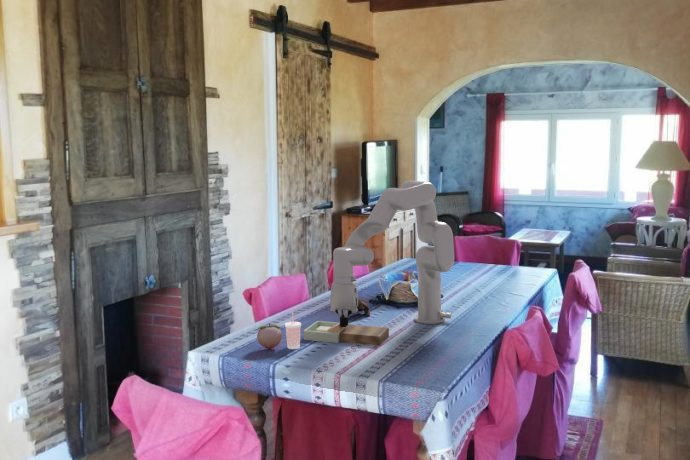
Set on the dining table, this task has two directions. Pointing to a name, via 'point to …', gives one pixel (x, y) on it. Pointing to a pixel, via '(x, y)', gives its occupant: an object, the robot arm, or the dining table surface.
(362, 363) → the dining table surface
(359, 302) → the dark brown domed piece
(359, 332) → the walnut board
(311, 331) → the tray
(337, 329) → the tile terracotta
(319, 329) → the tile cream
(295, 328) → the beverage cup
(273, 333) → the decorative fruit
